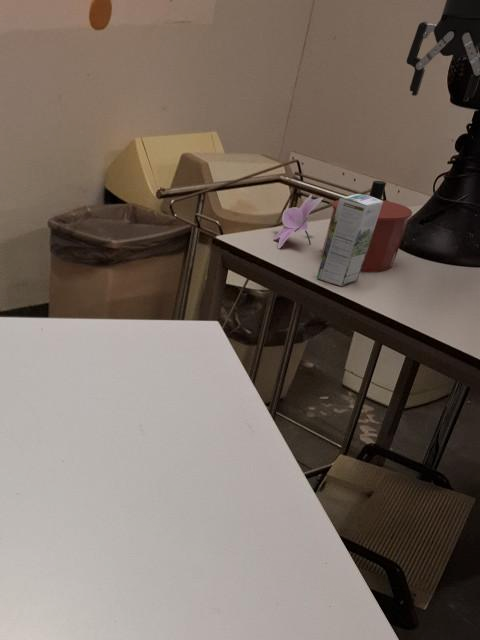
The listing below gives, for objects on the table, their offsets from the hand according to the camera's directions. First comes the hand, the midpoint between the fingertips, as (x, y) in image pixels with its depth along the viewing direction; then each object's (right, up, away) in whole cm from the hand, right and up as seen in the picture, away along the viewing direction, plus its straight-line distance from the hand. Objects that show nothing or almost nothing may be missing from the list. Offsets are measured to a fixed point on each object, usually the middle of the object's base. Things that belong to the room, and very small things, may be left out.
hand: (439, 97), depth 146 cm
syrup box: (-12, -26, +14) cm, 32 cm away
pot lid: (-4, -11, +18) cm, 21 cm away
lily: (-15, -11, +31) cm, 37 cm away
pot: (-4, -18, +24) cm, 30 cm away
